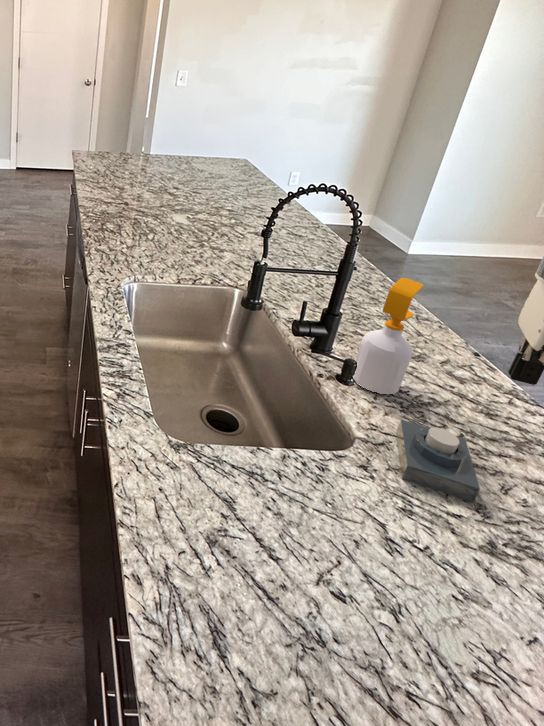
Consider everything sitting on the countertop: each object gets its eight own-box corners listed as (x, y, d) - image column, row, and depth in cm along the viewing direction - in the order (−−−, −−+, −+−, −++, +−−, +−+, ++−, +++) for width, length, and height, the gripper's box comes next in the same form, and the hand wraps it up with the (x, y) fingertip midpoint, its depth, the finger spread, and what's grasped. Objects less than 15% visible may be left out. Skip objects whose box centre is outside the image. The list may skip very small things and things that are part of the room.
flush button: (453, 441, 94) (457, 432, 93) (457, 458, 91) (461, 449, 90) (423, 432, 96) (427, 424, 95) (426, 448, 93) (430, 439, 92)
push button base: (459, 451, 98) (468, 430, 96) (472, 503, 88) (484, 480, 86) (395, 432, 103) (403, 411, 101) (401, 479, 92) (410, 457, 90)
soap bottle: (405, 386, 116) (445, 286, 106) (385, 401, 111) (424, 297, 101) (363, 365, 122) (396, 268, 112) (342, 378, 117) (375, 279, 107)
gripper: (631, 304, 69) (568, 416, 77) (588, 261, 81) (537, 361, 89) (556, 289, 72) (503, 398, 80) (525, 251, 84) (481, 348, 92)
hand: (521, 379), depth 84 cm, fingers closed
